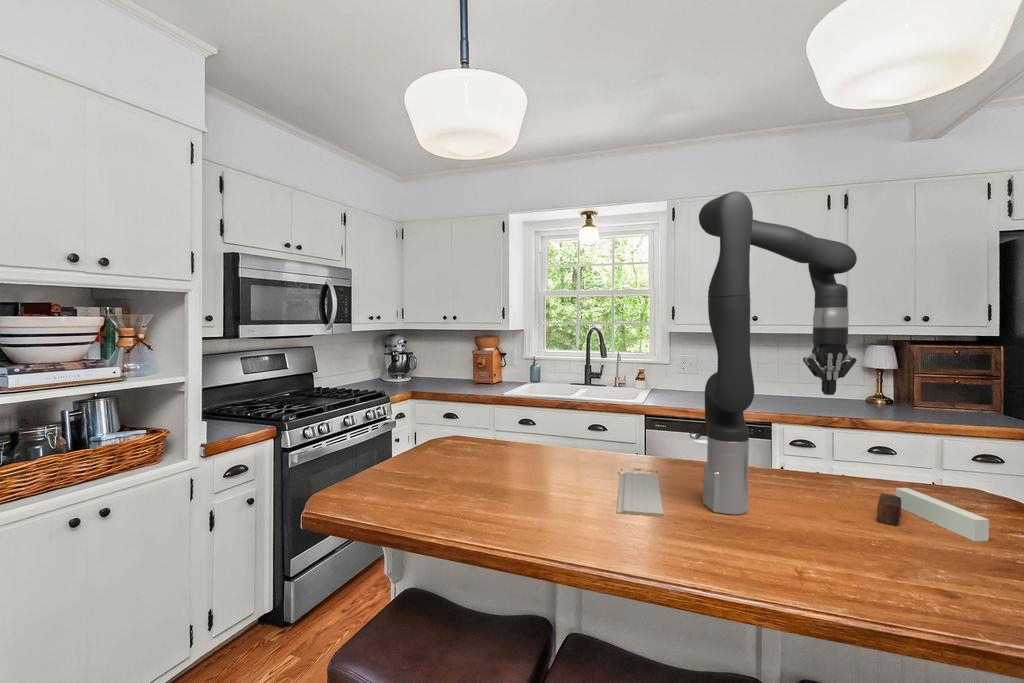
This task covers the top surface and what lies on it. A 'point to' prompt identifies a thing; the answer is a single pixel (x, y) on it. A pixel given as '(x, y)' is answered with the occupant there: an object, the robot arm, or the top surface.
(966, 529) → the board
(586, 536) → the top surface
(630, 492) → the baseboard molding
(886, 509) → the brick
